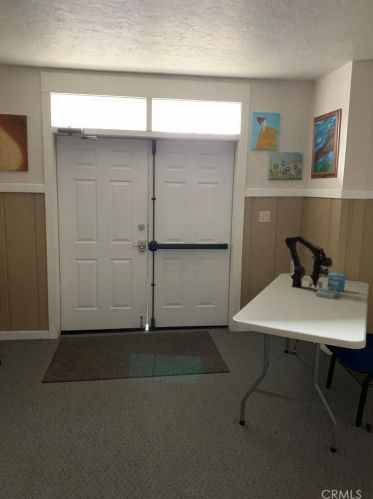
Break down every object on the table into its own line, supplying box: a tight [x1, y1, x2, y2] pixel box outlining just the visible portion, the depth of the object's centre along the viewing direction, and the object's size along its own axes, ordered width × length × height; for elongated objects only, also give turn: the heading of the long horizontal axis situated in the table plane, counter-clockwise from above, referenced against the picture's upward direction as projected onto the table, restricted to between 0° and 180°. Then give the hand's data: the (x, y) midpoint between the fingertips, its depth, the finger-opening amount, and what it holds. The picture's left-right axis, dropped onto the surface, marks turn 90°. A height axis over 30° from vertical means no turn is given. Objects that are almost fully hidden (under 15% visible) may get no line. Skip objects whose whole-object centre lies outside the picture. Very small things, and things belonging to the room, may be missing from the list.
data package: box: [326, 272, 346, 292], centre depth 301 cm, size 12×4×12 cm, turn 64°
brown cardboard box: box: [308, 280, 324, 289], centre depth 295 cm, size 9×5×4 cm, turn 63°
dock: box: [315, 289, 337, 300], centre depth 284 cm, size 12×10×4 cm
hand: (315, 285), depth 295 cm, fingers closed on brown cardboard box, 5 cm apart
